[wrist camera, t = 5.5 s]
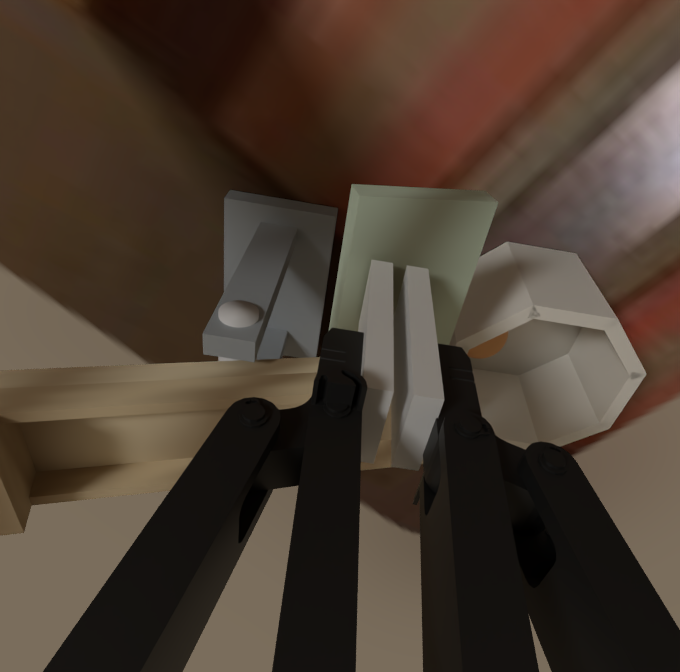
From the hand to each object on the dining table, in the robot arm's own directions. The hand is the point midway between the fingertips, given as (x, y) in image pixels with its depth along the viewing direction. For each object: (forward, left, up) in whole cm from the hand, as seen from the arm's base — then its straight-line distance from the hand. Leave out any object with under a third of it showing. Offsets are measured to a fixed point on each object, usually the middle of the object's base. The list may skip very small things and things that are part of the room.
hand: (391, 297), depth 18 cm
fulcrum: (+6, +7, -11) cm, 14 cm away
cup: (-9, +7, -11) cm, 15 cm away
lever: (+5, +3, 0) cm, 6 cm away
